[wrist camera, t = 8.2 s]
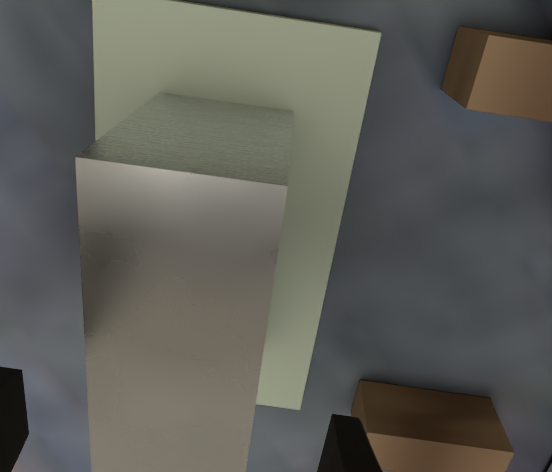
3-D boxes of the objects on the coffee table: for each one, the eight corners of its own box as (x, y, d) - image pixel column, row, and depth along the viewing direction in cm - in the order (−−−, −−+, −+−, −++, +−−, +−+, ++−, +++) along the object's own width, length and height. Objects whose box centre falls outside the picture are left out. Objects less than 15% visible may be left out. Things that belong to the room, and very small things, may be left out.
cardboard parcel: (640, 54, 16) (706, 68, 14) (476, 429, 24) (497, 485, 21) (458, 25, 16) (489, 34, 14) (350, 412, 24) (356, 466, 21)
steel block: (293, 110, 17) (287, 186, 11) (259, 346, 22) (242, 496, 15) (158, 92, 17) (75, 157, 11) (153, 332, 21) (91, 477, 15)
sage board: (377, 30, 17) (381, 33, 16) (300, 397, 24) (299, 409, 23) (101, -12, 16) (92, -12, 16) (107, 370, 24) (100, 382, 23)
